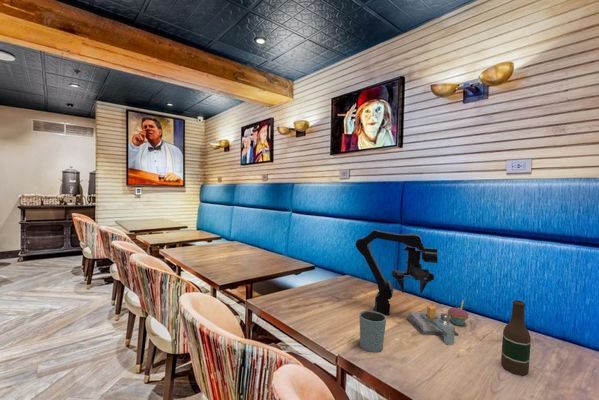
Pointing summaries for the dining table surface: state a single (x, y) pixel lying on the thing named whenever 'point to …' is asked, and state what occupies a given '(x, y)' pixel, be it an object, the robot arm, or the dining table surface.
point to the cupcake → (458, 315)
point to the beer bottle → (516, 342)
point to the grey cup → (372, 331)
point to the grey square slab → (433, 325)
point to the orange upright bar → (431, 312)
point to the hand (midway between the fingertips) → (411, 292)
